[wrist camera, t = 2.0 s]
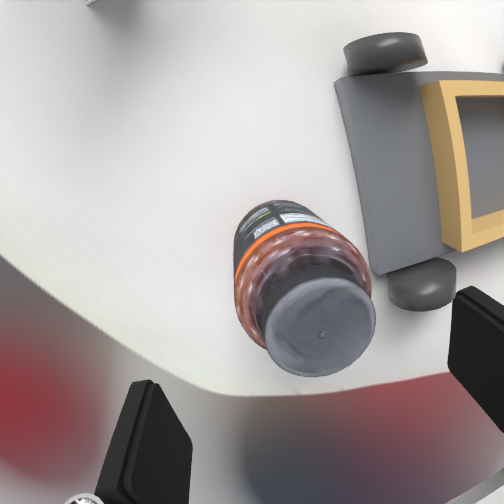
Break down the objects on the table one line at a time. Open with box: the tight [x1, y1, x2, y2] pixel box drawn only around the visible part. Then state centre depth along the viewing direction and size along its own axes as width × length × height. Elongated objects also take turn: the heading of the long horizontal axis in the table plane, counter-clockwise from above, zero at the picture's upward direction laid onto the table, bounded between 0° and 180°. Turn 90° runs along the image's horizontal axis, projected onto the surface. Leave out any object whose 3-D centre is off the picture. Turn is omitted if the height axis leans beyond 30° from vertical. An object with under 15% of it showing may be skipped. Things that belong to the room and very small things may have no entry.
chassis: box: [334, 32, 504, 311], centre depth 17 cm, size 22×17×5 cm
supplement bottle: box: [233, 200, 376, 377], centre depth 16 cm, size 6×6×11 cm
